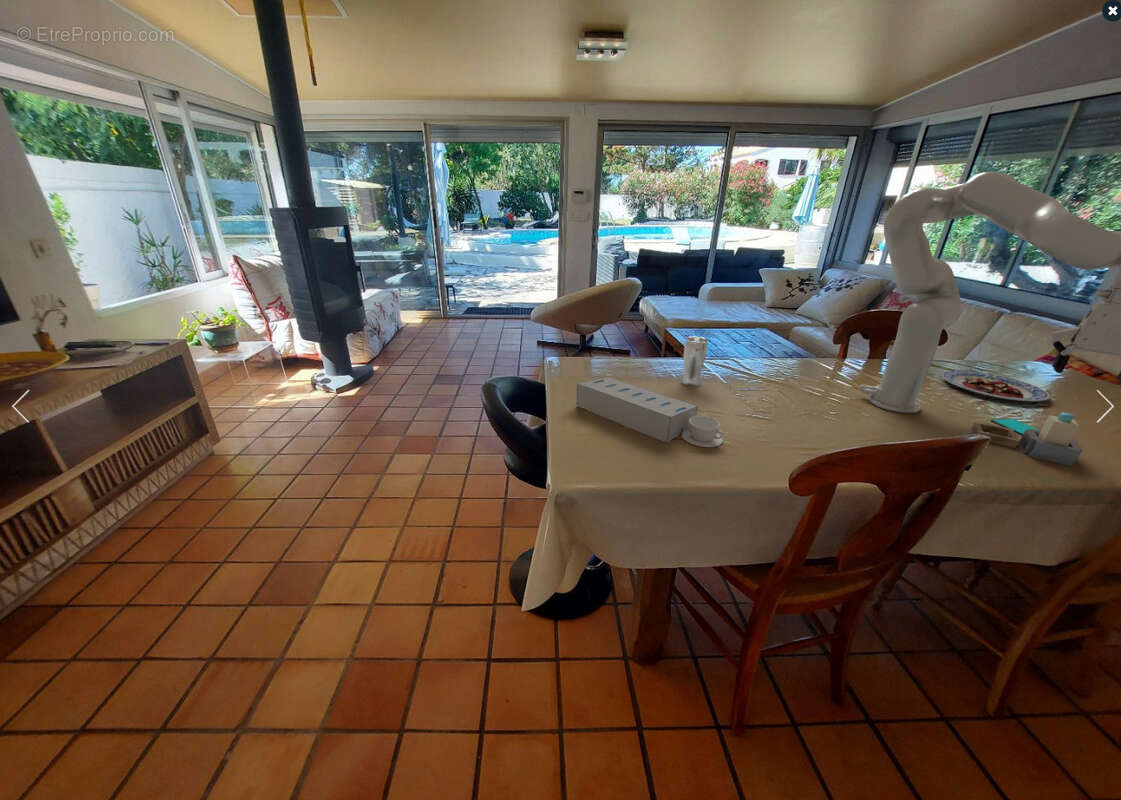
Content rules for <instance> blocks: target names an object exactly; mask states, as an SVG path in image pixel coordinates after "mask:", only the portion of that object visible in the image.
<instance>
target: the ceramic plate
mask: <svg viewBox="0 0 1121 800" xmlns="http://www.w3.org/2000/svg"><path fill="white" fill-rule="evenodd" d="M941 377H942V379H944V380H945V381H946V382H948V383H949V384H952V385H954V386H956V387H959V388H962V389H964V390H966V391H968V392H971V393H974V394H977V395H980V396H985V397H988V398H994V399H999V400H1006V401H1021V402H1041V401H1044V402H1045V401H1047V400H1049V399H1050V397H1051V395H1050V393H1049V392H1048V391H1046V390H1044V389H1043V388H1041V387H1038V386H1036V385H1034V384H1031V383H1028V382H1026V381H1021V380H1019V379H1015V378H1013V377H1012V378H1011V377H1007V376H1003V375H999V374H995V373H994V374H993V373H987V372H982V371H974V370H960V369H959V370H954V369H953V370H947V371H944V372H943V373H941Z"/></svg>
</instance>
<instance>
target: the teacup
mask: <svg viewBox="0 0 1121 800" xmlns="http://www.w3.org/2000/svg"><path fill="white" fill-rule="evenodd" d="M720 427H721V424H720V422H719V421H718V420H717V419H715V418H713V417H710V416H706V415H696V416H693V417H691V418H690V419H689V428H688V429H685V430H684V431H683V432H682V433H681V437H682V439H683V440H685V441H686V442H687V443H689V444H691V445H694V446H698V447H702V448H715V447H718V446H720V445H721V444H723V441H724V439H723V437H724V431H723V430H721V429H720Z"/></svg>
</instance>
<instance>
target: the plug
mask: <svg viewBox="0 0 1121 800" xmlns="http://www.w3.org/2000/svg"><path fill="white" fill-rule="evenodd" d="M1074 418H1076V417H1075V415H1074V414H1073V413H1069V412H1065V411H1064V412H1060V414H1059V415H1058V416H1056V415H1050V414H1049V415H1048V417H1047V418H1046V421H1045V422H1044V424H1043V426H1042V428H1041V431H1040V433H1039V435H1038V438H1039V440H1041V441H1045V442H1050V443H1055V444H1059V445H1064V446H1068V445H1069V443H1070V442H1071V440H1072V439H1073V438H1074V437H1075V435H1076V434H1077V432H1078V431H1079V428H1080V424H1078V423H1077V421H1076V420H1074Z"/></svg>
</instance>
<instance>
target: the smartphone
mask: <svg viewBox="0 0 1121 800" xmlns="http://www.w3.org/2000/svg"><path fill="white" fill-rule="evenodd" d="M990 422H991V423H993V424H995V425H996V426H999V427H1004V428H1009V429H1013V430H1014V432H1015V434H1016V435H1017V434H1018V435H1020V436H1021V437H1022V436H1023V434H1024V432H1025V430H1028V428H1030V429H1035V430H1040V429H1038V428H1036V427H1033V426H1031V425H1029V424H1026V423H1024V422H1022V421H1019V420H1017V419H1015V418H999V419H998V418H996V419H990ZM1040 431H1041V430H1040Z"/></svg>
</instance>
